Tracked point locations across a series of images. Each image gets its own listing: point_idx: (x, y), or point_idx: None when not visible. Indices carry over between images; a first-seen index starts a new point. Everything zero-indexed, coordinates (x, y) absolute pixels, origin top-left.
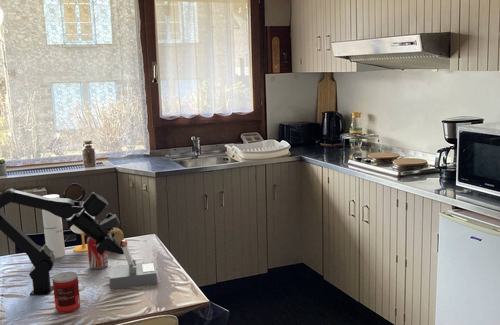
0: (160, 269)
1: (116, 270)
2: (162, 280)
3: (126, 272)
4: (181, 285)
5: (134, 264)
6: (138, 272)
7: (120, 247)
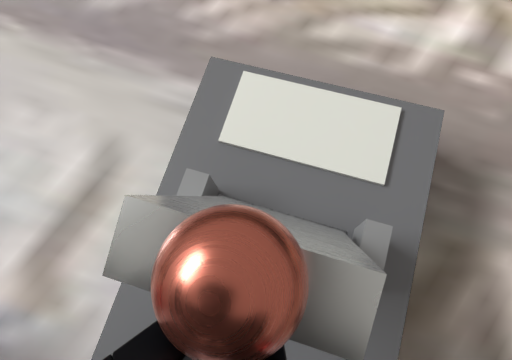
0: None
1: None
2: None
3: None
4: (507, 45)
5: (237, 199)
6: (363, 215)
7: None
